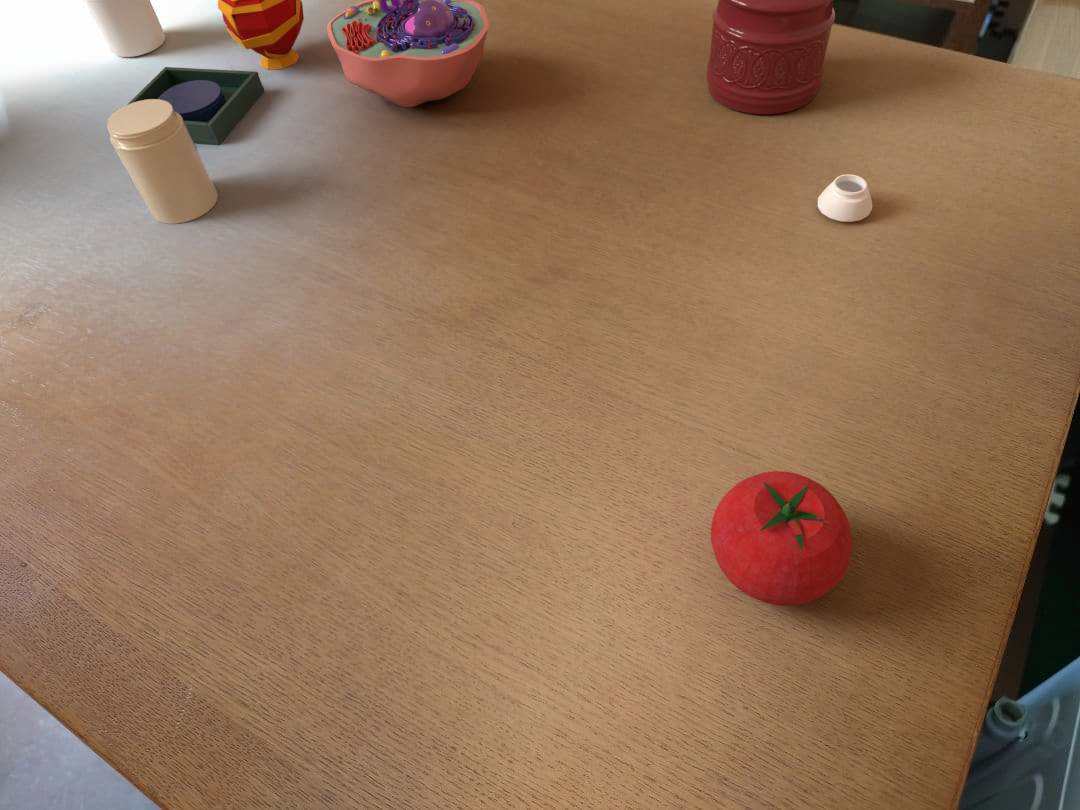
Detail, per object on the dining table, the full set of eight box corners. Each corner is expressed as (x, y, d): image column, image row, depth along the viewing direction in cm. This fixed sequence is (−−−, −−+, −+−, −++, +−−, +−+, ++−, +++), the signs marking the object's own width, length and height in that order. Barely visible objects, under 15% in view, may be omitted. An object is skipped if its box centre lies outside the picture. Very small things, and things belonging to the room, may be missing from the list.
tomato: (825, 644, 49) (856, 588, 43) (690, 598, 52) (700, 539, 46) (848, 529, 54) (878, 465, 48) (723, 493, 57) (737, 427, 51)
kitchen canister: (723, 53, 97) (741, -109, 83) (829, 68, 93) (867, -99, 79) (690, 106, 90) (705, -61, 76) (804, 125, 85) (841, -47, 72)
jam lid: (237, 95, 98) (232, 83, 96) (203, 129, 93) (197, 116, 92) (186, 89, 100) (180, 77, 98) (149, 122, 95) (143, 110, 94)
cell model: (390, 47, 104) (369, -44, 95) (522, 71, 97) (513, -24, 89) (314, 111, 95) (283, 18, 86) (454, 143, 88) (436, 46, 80)
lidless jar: (817, 223, 75) (871, 226, 74) (823, 197, 73) (879, 201, 72) (816, 192, 78) (868, 195, 77) (822, 166, 76) (876, 169, 75)
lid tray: (123, 137, 94) (112, 118, 92) (174, 85, 102) (165, 66, 100) (219, 145, 92) (210, 125, 90) (264, 91, 99) (257, 71, 97)
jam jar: (138, 220, 83) (87, 134, 75) (172, 181, 88) (128, 95, 80) (197, 226, 82) (152, 138, 74) (229, 185, 86) (189, 98, 78)
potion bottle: (324, 67, 102) (287, -57, 90) (245, 87, 100) (197, -38, 88) (311, 34, 108) (274, -87, 97) (237, 51, 106) (191, -69, 95)
